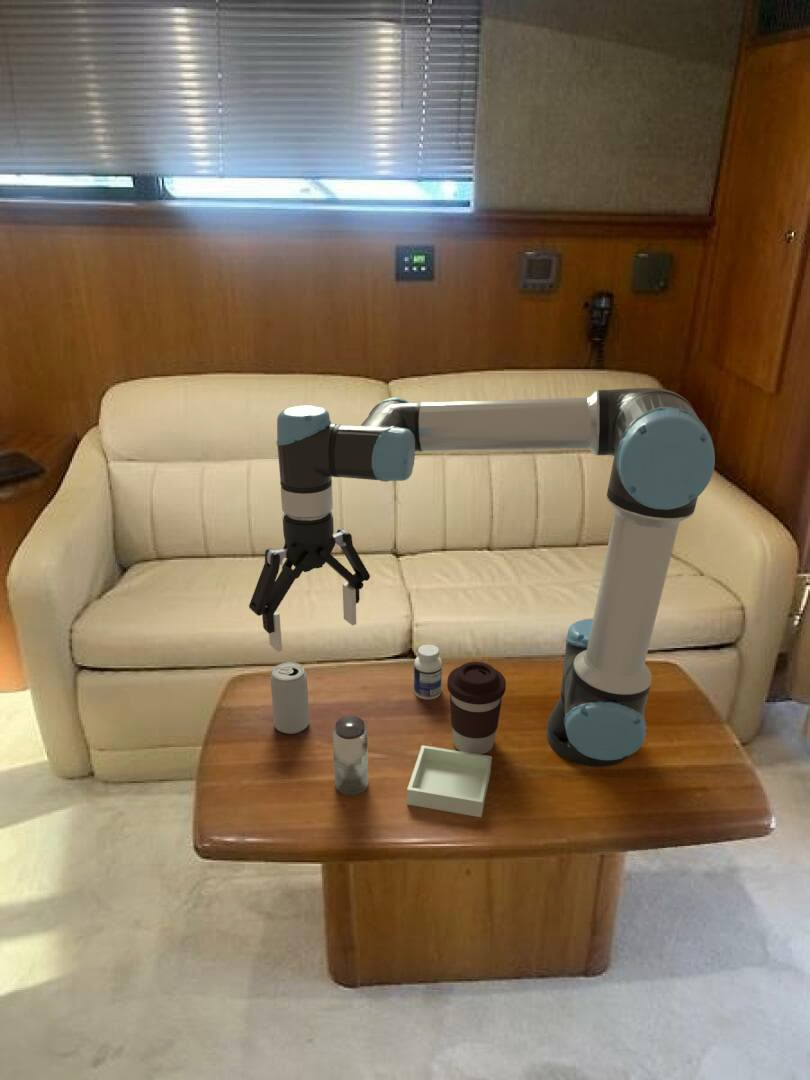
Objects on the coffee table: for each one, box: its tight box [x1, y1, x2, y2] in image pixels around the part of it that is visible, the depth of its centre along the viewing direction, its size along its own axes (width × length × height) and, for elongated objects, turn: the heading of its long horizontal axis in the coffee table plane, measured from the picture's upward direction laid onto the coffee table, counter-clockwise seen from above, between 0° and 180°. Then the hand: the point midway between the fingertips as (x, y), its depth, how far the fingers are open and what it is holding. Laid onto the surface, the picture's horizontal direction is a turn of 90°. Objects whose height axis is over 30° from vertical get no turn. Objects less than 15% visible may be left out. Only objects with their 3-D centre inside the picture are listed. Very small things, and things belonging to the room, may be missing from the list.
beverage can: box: [270, 661, 310, 735], centre depth 141 cm, size 6×6×12 cm
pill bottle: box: [413, 644, 443, 700], centre depth 151 cm, size 5×5×10 cm
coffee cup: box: [446, 661, 507, 755], centre depth 136 cm, size 10×10×15 cm
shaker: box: [332, 715, 369, 796], centre depth 127 cm, size 6×6×12 cm
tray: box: [406, 744, 493, 818], centre depth 129 cm, size 12×11×3 cm
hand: (314, 634), depth 126 cm, fingers open, 13 cm apart
